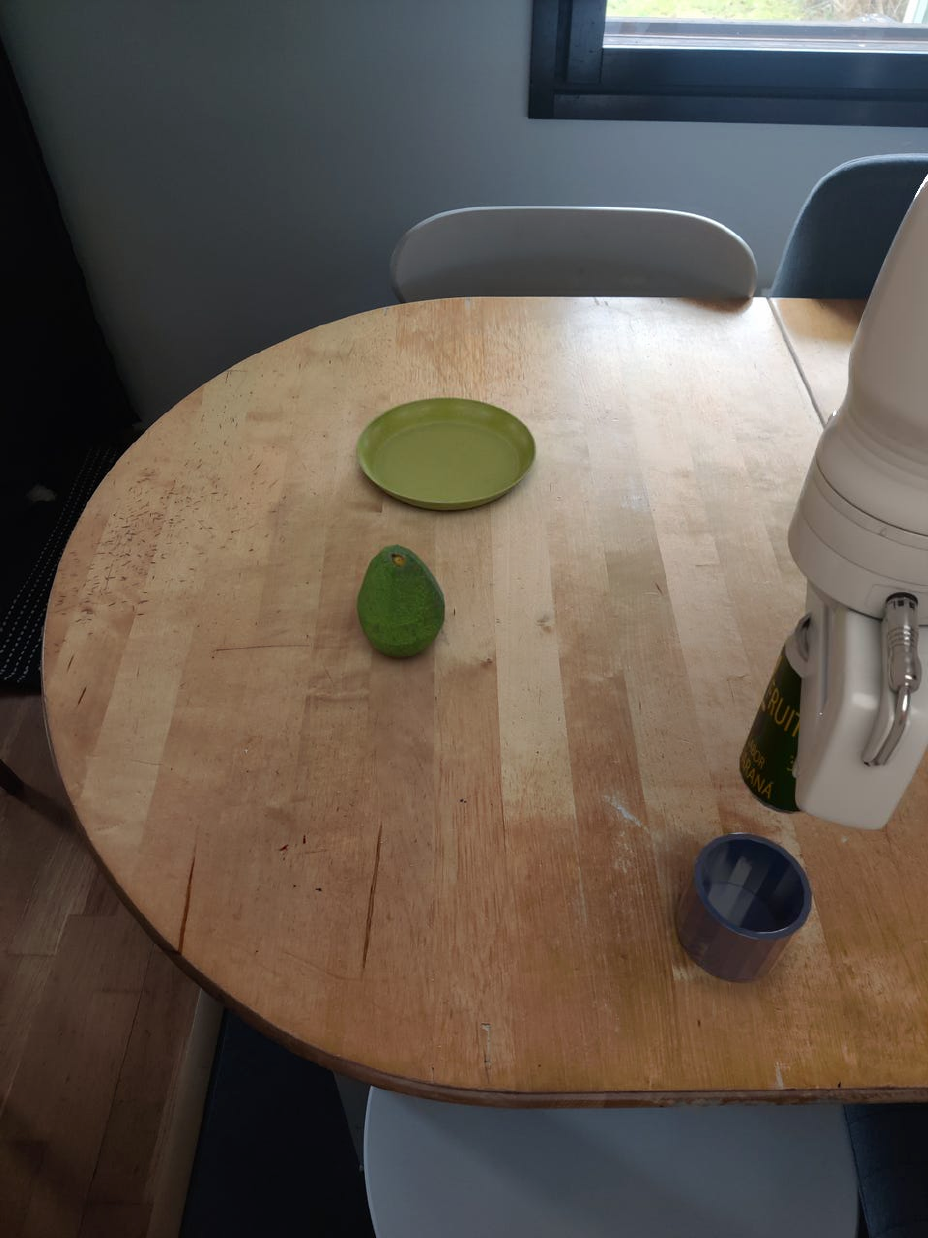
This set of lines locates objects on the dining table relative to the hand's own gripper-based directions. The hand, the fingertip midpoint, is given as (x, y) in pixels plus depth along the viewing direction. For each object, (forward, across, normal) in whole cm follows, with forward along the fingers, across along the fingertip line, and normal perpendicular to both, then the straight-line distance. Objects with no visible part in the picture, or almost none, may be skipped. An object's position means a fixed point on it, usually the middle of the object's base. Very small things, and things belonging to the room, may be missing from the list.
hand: (810, 721), depth 47 cm
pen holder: (+22, -2, -1) cm, 22 cm away
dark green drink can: (+6, 0, 0) cm, 6 cm away
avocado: (+22, +17, +32) cm, 42 cm away
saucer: (+22, +45, +36) cm, 62 cm away
